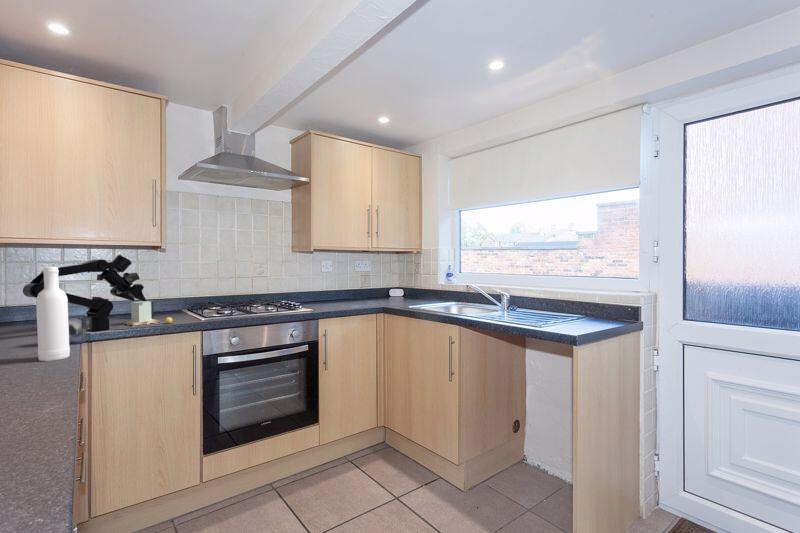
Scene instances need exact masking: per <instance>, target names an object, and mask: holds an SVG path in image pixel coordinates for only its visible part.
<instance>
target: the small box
mask: <svg viewBox="0 0 800 533" xmlns="http://www.w3.org/2000/svg"><path fill="white" fill-rule="evenodd" d="M68 324H69V346H70V345H82V344H85V343H86V342H87V341H88V339H87V337H88V336H87V335H88V334H87V314H79V315H68Z"/></svg>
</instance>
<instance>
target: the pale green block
mask: <svg viewBox="0 0 800 533" xmlns="http://www.w3.org/2000/svg"><path fill="white" fill-rule="evenodd" d="M148 301H149V300H146V301H145V302H143V301H141V300H139V301H131V302H130V314H131V315H130V317H131V321H132V322H145V321H152V319H153V318H152V317H151V302H148Z"/></svg>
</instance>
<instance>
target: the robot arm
mask: <svg viewBox="0 0 800 533" xmlns="http://www.w3.org/2000/svg"><path fill="white" fill-rule="evenodd" d="M130 266H132V261H131V260H130V259H129V258H127V257H125V256H123V255H122V254H118V255H117V256H115V258H114V259H113V260H112V261H111V262H110V261H107V260H106V259H101V258H100V259H91V260H88V261H85V262H83V263H80V264H79V263H78V264H72V265H66V266H59V267H58V266H57V267H58V270H59V273H58V277H63V276H64V277H65V276H69V275H76V274H81V273H100V274H96V276H97V277H96V280H97V281H103V280H104V281H105V282H107V283H108V284H109V287H111V289H110V291H109V293H110V294H111V296H113V297H117V298H121V299H125V300H128V301H131V302H135V300H139V301H143V302H145V301H147V299H146V297H145V295H144V294H143V290H144V288H145V287H144V285H143V284H142V283H134V282H136V281H138V280H140V276H139V274H138V272H131V273H129V272H125V271H126V270H127V269H128V268H129V267H130ZM120 273H122V275H123V276H121V274H120ZM43 289H44V273H43V270H42V271H41V272H40V273H39V274H38V275H37V276H36V277H34V278H33V279H32V280H31V281H30V282H29V283H27V284H26V285H24V286H23V288H22V294H23V295H24V296H25V297H28V298H35V299H37V296H38V294H39V293H40V292H41V291H42V290H43ZM65 294H66V296H67V299H68V304H70V305H71V304H72V305H76V306H80V307H83V308H86V309H88V310H87V311H86V313H85V315H86V317H88V323H89V324H88V325H89V326H88V327H89V328H88V329H87V330H88V331H89V330H90V331H89V332H99V331H98V330H101V331H106V330H107V329H108V330H110V329H111V328H110V318H109V317H110V315H111V312H112V311H113V308H114V303H113V302H112V301H111V300H110V299H109V298H103V297H101V296H92V297H91V298H87V297H83V296H81V295H80V296H79V295H76V294H72V293H67V292H65Z"/></svg>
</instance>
